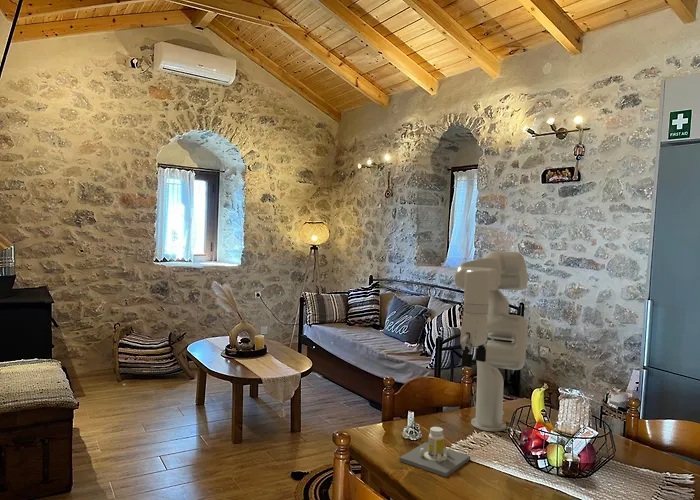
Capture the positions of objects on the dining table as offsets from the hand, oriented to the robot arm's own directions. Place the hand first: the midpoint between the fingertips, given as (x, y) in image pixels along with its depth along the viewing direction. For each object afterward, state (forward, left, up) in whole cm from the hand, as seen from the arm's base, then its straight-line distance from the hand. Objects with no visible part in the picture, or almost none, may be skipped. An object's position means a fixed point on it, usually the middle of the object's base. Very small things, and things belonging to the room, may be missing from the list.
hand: (473, 363), depth 166 cm
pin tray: (+8, -8, -30) cm, 32 cm away
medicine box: (-12, +24, -31) cm, 41 cm away
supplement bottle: (+8, -8, -29) cm, 31 cm away
